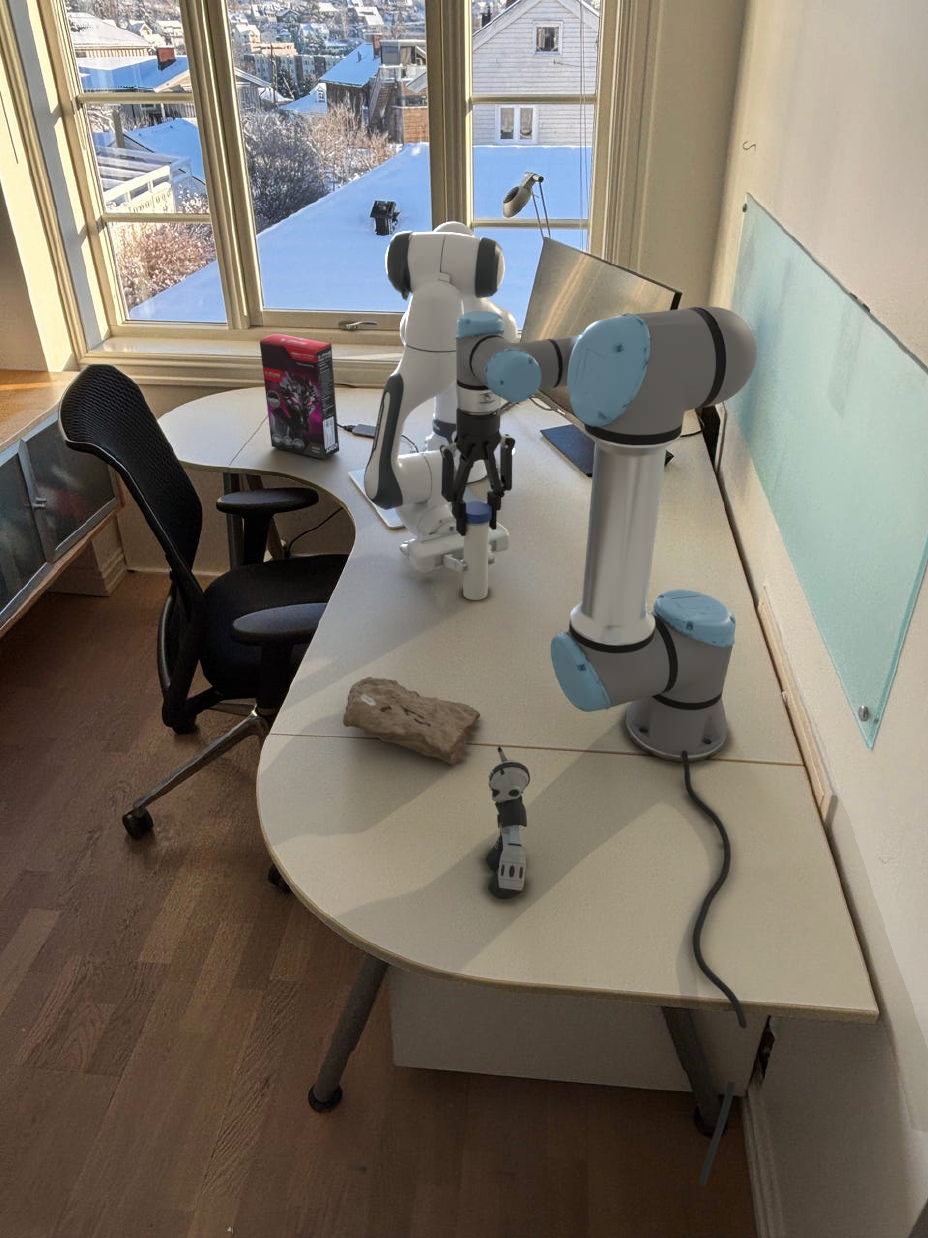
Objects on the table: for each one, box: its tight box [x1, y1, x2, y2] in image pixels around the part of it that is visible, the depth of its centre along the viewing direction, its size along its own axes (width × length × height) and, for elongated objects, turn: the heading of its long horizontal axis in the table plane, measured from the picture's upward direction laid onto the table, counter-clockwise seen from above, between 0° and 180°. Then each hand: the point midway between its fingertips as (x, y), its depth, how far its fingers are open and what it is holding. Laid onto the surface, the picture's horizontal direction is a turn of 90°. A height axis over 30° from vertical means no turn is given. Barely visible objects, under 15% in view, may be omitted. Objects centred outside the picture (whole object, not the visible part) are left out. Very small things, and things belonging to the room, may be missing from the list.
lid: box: [466, 500, 492, 524], centre depth 166 cm, size 6×6×2 cm
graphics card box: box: [259, 333, 340, 460], centre depth 223 cm, size 17×7×27 cm, turn 62°
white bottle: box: [462, 521, 489, 601], centre depth 171 cm, size 5×5×17 cm
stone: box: [342, 676, 481, 766], centre depth 140 cm, size 21×15×6 cm
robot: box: [485, 746, 531, 899], centre depth 114 cm, size 20×5×20 cm, turn 3°
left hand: (478, 564), depth 171 cm, fingers closed on white bottle, 4 cm apart
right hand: (476, 529), depth 168 cm, fingers closed on lid, 5 cm apart
